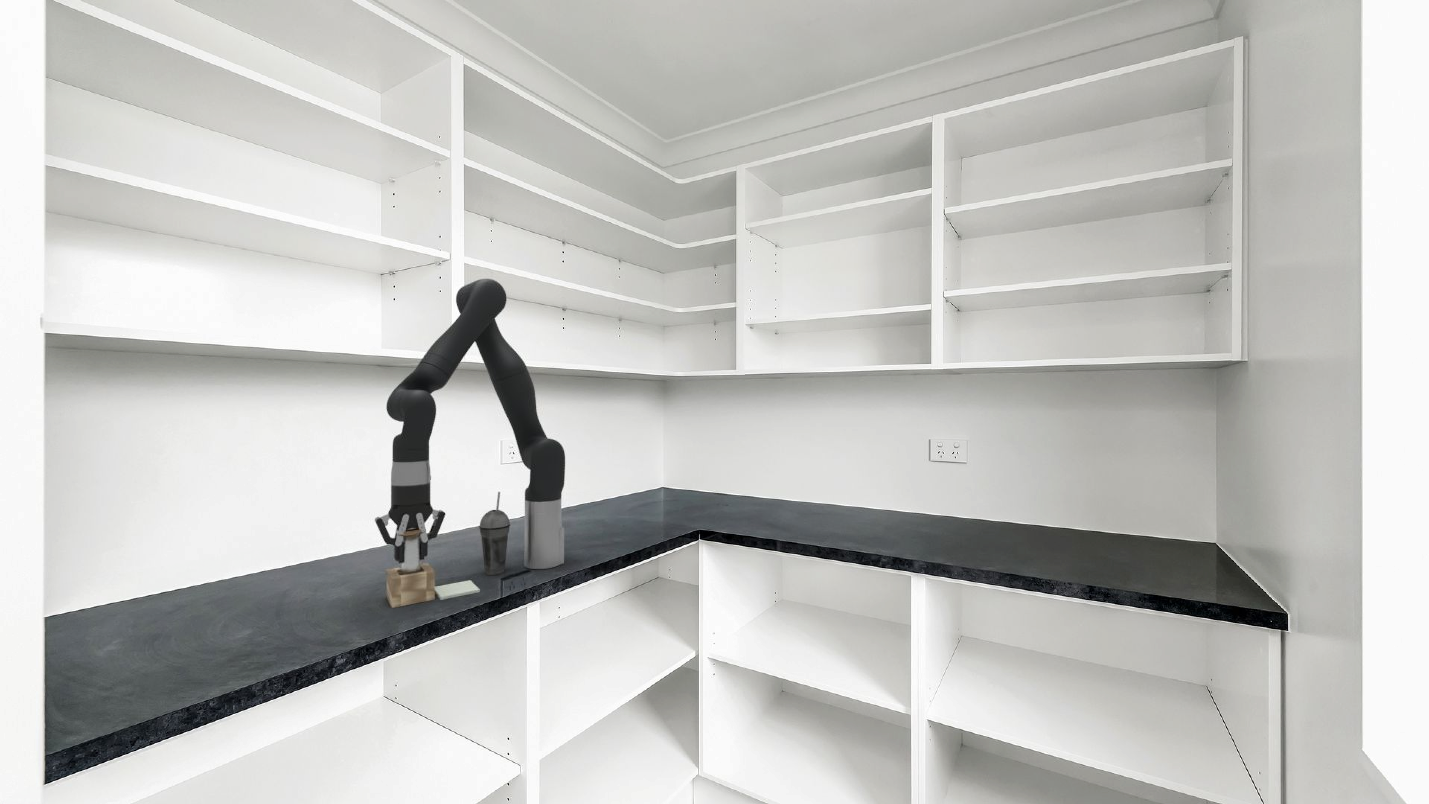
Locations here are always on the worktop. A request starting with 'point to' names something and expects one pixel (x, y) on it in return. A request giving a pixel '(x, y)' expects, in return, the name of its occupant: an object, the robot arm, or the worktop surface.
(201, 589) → the worktop surface
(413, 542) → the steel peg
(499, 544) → the beverage cup
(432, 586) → the oak eye block
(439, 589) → the sage mat
